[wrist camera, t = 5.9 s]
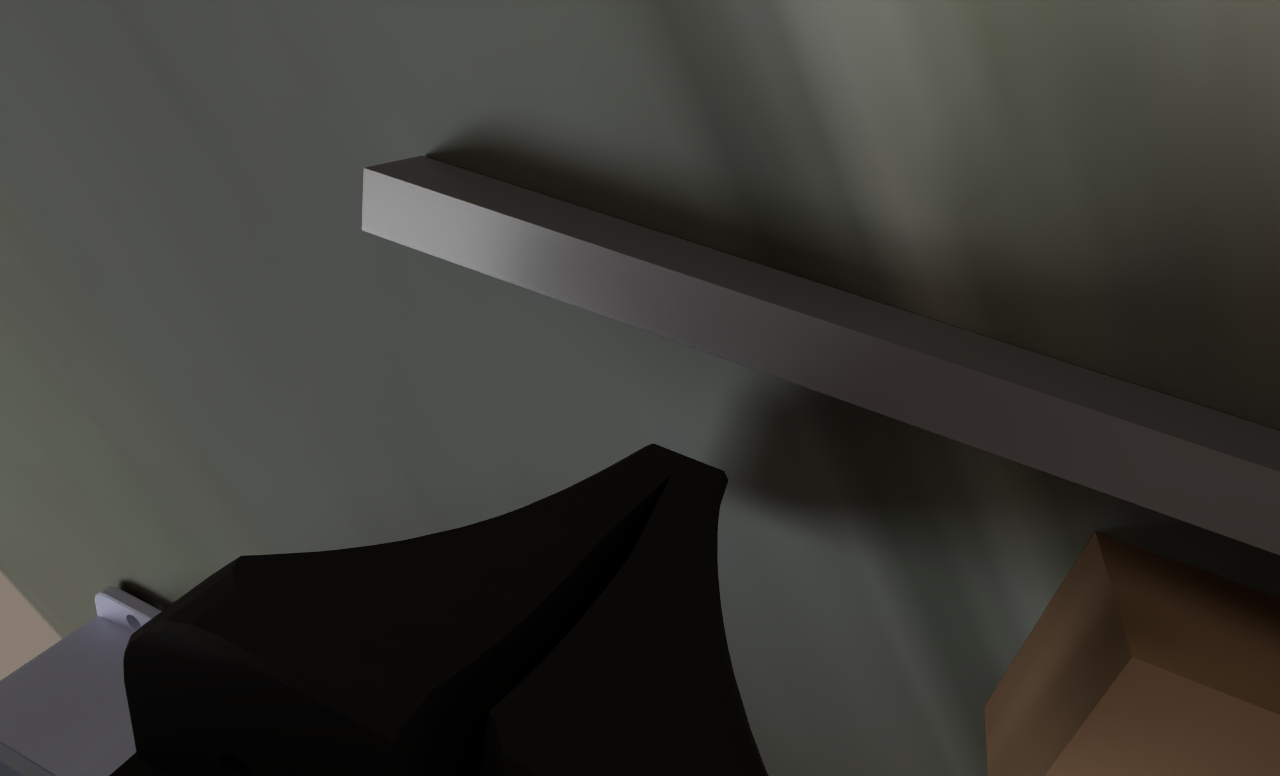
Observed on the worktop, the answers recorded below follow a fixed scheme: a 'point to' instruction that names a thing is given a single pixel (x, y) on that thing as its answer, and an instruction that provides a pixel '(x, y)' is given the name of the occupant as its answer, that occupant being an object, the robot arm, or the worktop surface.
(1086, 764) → the brown rectangular block
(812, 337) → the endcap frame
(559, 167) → the worktop surface
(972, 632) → the worktop surface
